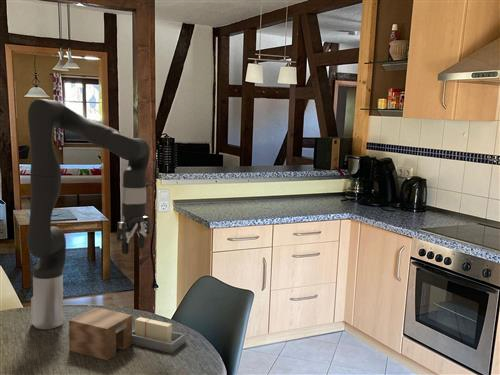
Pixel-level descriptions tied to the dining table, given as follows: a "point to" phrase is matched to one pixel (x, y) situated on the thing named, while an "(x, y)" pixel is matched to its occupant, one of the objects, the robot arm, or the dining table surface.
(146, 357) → the dining table surface
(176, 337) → the tray
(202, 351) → the dining table surface
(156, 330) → the cream rectangular block
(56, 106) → the robot arm
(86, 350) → the wooden block
